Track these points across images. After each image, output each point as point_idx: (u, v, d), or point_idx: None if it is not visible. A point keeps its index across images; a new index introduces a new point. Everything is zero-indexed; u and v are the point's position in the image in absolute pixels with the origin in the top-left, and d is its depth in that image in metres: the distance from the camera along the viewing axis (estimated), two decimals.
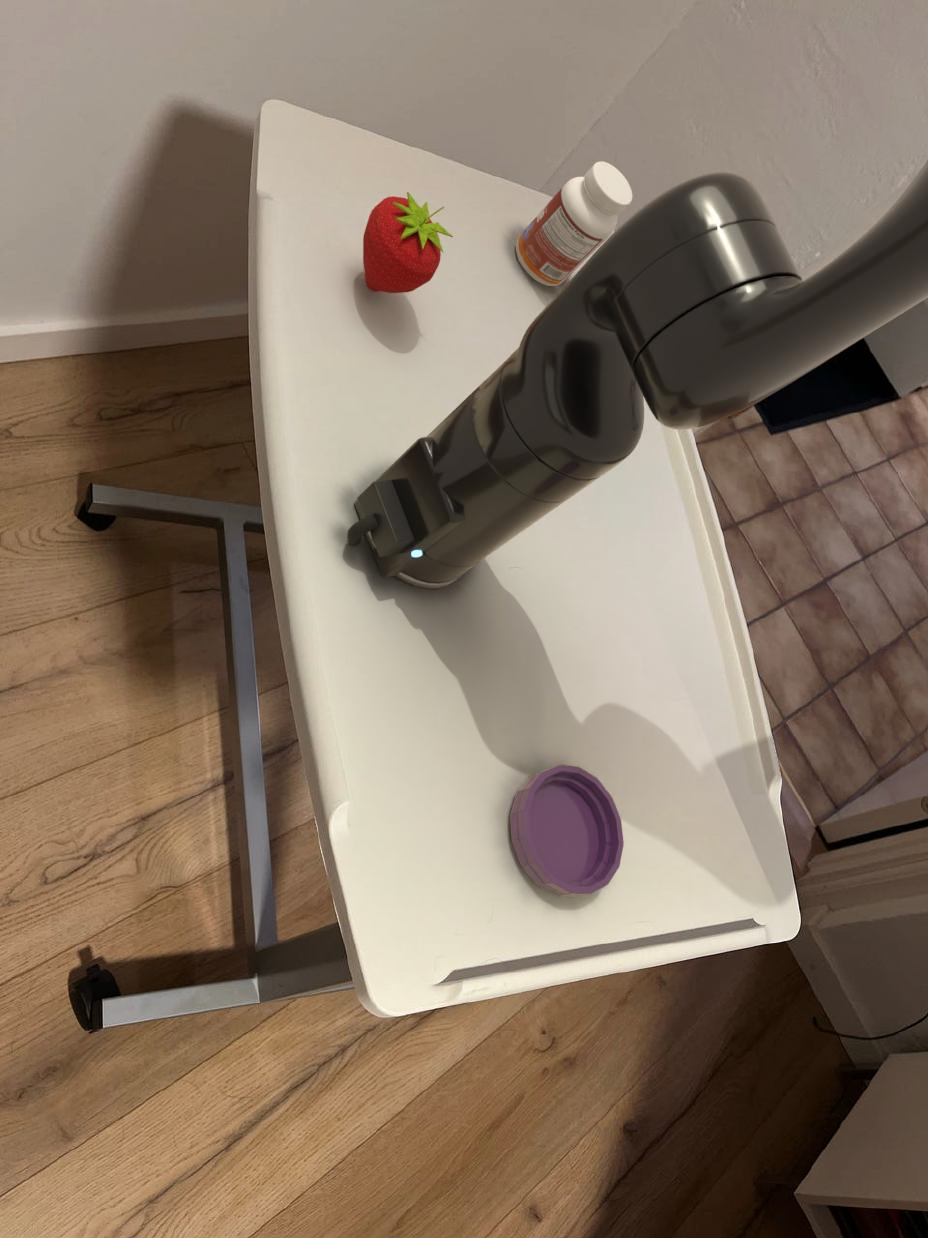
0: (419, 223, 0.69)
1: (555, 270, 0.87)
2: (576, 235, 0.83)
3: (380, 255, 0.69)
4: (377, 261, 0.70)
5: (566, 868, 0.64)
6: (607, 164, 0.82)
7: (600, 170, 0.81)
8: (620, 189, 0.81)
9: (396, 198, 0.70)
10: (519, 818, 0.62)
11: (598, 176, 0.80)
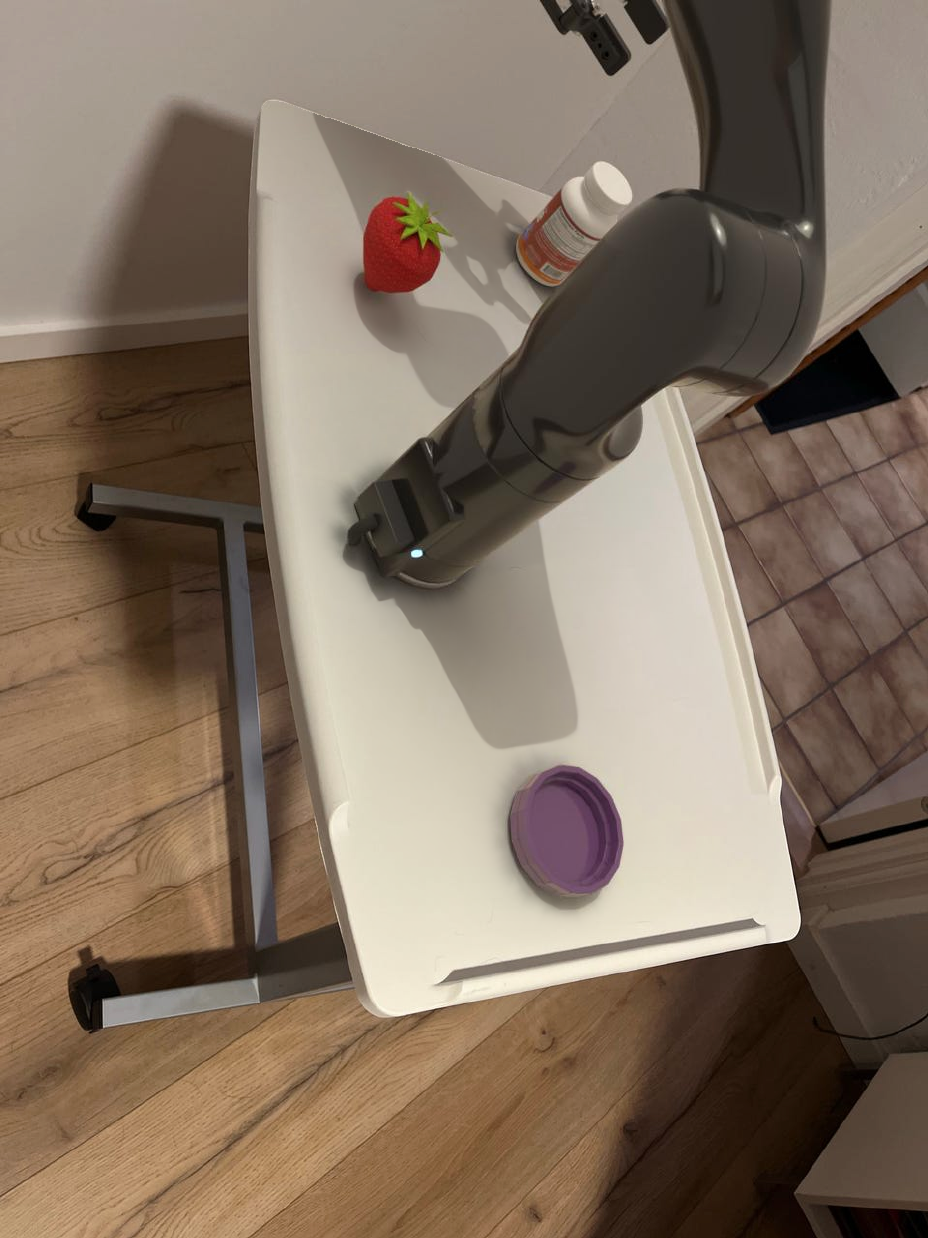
0: (419, 223, 0.69)
1: (555, 270, 0.87)
2: (576, 235, 0.83)
3: (380, 255, 0.69)
4: (377, 261, 0.70)
5: (566, 868, 0.64)
6: (607, 164, 0.82)
7: (600, 170, 0.81)
8: (620, 189, 0.81)
9: (396, 198, 0.70)
10: (519, 818, 0.62)
11: (598, 176, 0.80)
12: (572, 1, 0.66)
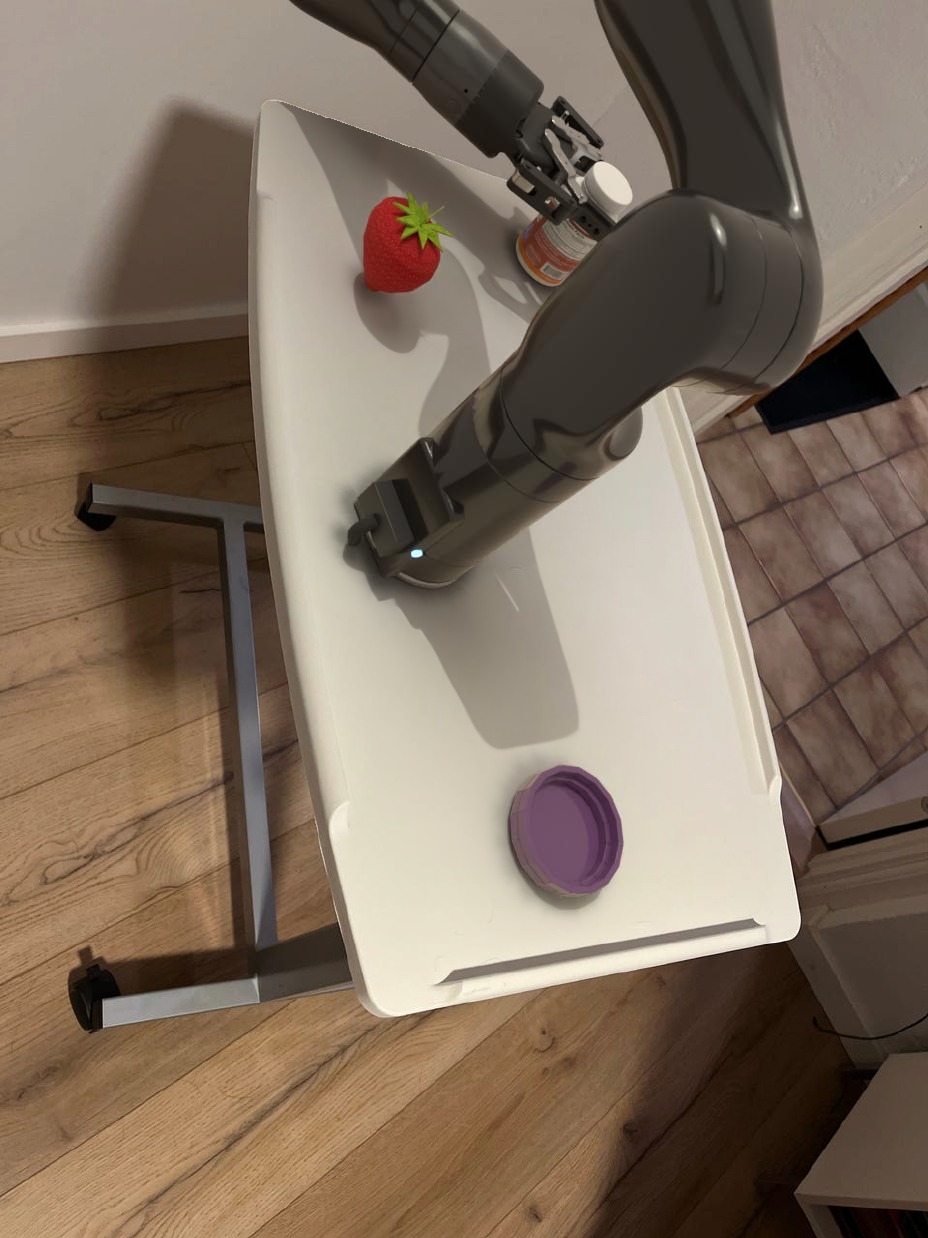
0: (419, 223, 0.69)
1: (555, 270, 0.87)
2: (576, 235, 0.83)
3: (380, 255, 0.69)
4: (377, 261, 0.70)
5: (566, 868, 0.64)
6: (607, 164, 0.82)
7: (600, 170, 0.81)
8: (620, 189, 0.81)
9: (396, 198, 0.70)
10: (519, 818, 0.62)
11: (598, 176, 0.80)
12: (563, 203, 0.78)
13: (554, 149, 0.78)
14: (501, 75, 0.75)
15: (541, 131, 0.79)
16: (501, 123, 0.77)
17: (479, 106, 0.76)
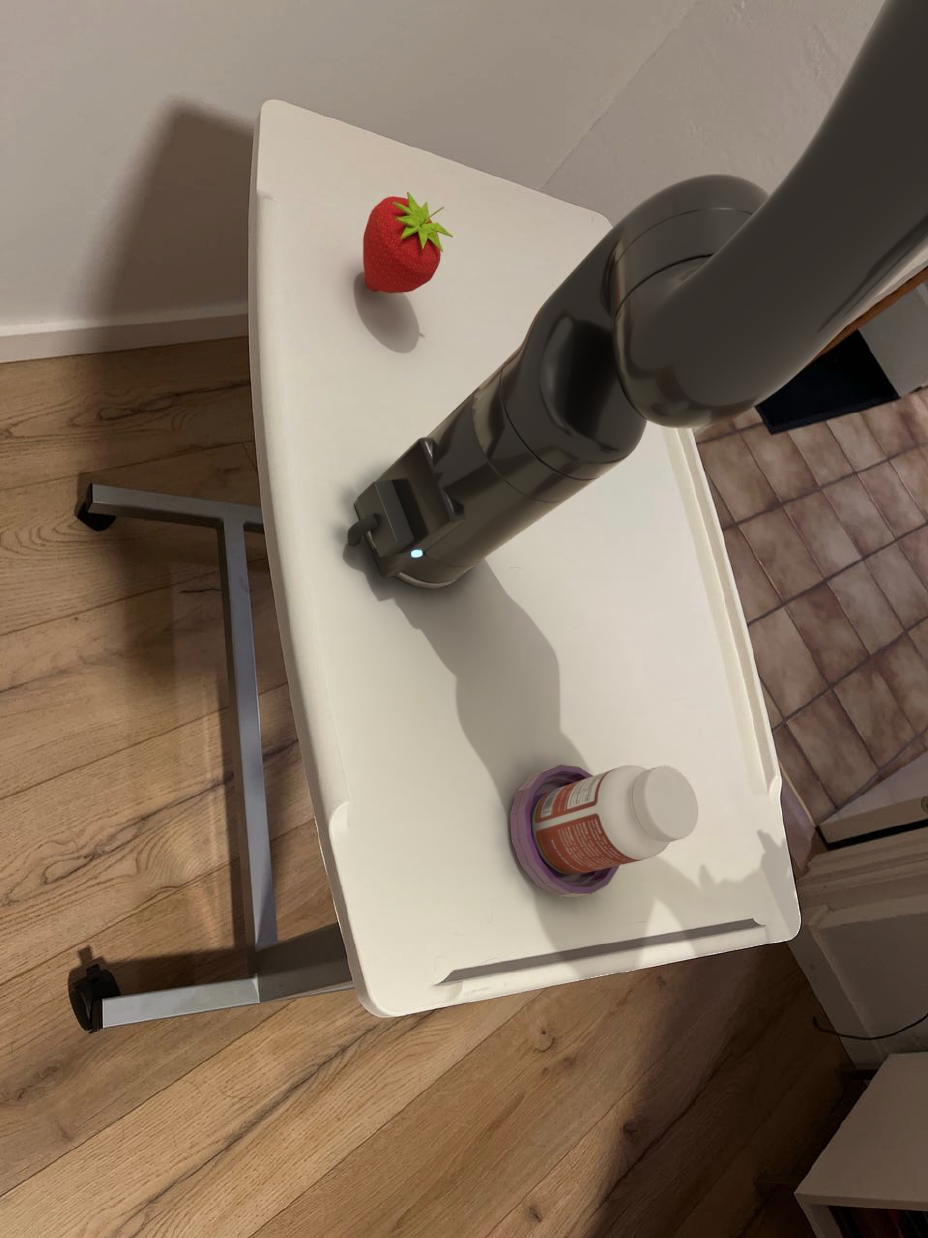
0: (419, 223, 0.69)
1: (554, 796, 0.63)
2: (602, 774, 0.60)
3: (380, 255, 0.69)
4: (377, 261, 0.70)
5: None
6: (694, 817, 0.58)
7: (686, 792, 0.58)
8: (664, 805, 0.56)
9: (396, 198, 0.70)
10: (519, 818, 0.62)
11: (679, 777, 0.58)
12: None
13: None
14: None
15: None
16: None
17: None
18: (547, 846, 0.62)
